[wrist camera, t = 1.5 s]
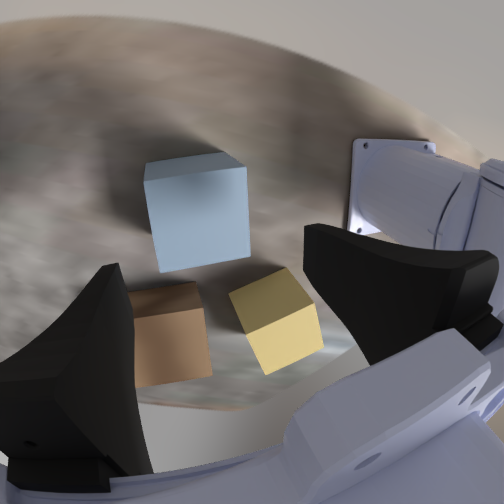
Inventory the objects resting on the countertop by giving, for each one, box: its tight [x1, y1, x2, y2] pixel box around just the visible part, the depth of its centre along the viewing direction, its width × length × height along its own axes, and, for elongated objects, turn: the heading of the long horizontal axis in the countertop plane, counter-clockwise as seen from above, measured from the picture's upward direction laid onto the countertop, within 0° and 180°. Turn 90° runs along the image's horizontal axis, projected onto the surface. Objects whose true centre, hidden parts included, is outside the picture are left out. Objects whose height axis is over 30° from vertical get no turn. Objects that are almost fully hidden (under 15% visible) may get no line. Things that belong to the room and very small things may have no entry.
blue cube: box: [143, 152, 251, 273], centre depth 17 cm, size 5×5×5 cm
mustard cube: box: [228, 268, 324, 375], centre depth 23 cm, size 5×5×5 cm
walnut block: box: [127, 282, 213, 388], centre depth 22 cm, size 7×7×4 cm
